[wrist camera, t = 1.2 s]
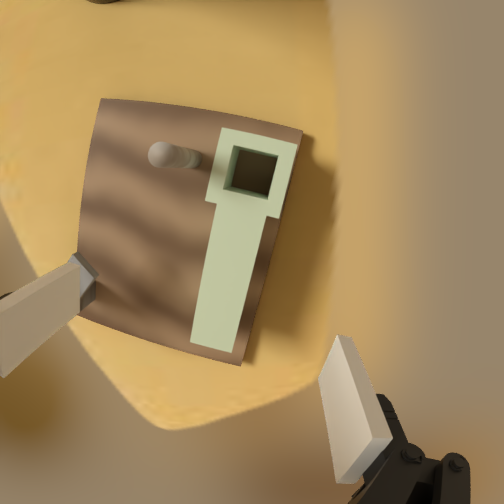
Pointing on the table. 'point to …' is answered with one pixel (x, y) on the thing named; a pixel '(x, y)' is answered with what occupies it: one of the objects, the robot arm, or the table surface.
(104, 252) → the pintle board
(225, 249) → the link
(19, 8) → the table surface
